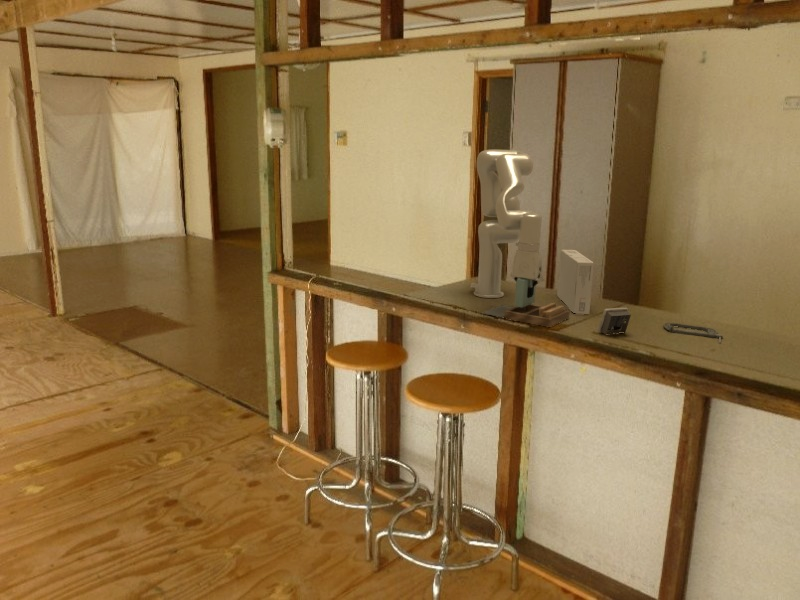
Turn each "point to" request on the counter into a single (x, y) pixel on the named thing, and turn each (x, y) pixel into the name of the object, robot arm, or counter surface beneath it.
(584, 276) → the packaging
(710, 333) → the c clamp
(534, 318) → the brown divided tray
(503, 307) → the mat
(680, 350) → the counter surface
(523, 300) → the teal square block
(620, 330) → the electrical switch
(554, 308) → the offcuts
